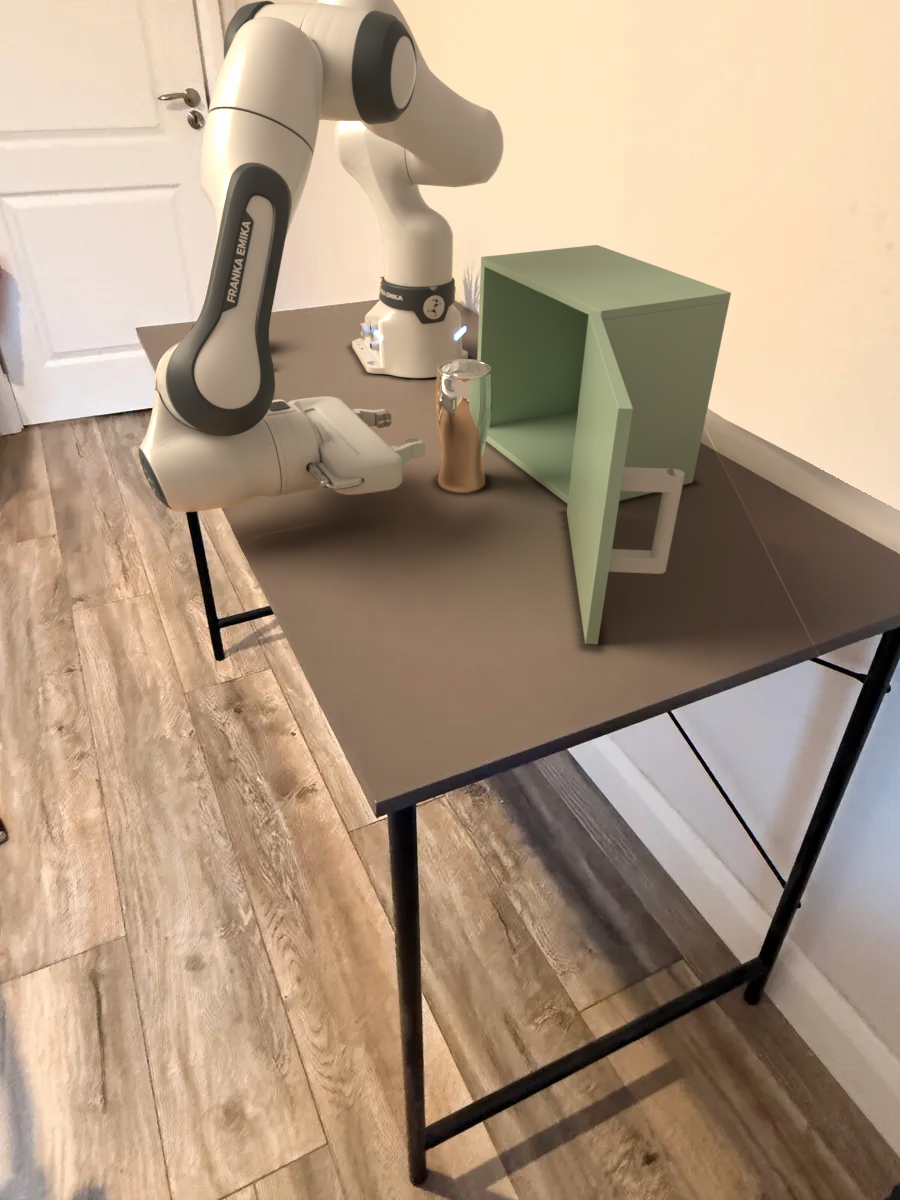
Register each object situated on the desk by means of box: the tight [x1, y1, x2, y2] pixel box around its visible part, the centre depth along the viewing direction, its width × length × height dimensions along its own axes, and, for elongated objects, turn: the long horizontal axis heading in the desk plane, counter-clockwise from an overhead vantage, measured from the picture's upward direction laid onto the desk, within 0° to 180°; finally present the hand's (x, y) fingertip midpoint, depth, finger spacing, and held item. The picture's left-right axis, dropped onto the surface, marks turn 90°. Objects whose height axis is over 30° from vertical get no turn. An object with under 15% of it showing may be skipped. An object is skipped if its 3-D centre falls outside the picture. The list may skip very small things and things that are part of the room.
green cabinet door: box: [566, 313, 685, 645], centre depth 84 cm, size 7×26×24 cm, turn 177°
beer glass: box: [434, 358, 493, 494], centre depth 104 cm, size 7×7×15 cm
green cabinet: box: [476, 244, 732, 505], centre depth 108 cm, size 18×26×24 cm
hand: (405, 431), depth 100 cm, fingers open, 8 cm apart
